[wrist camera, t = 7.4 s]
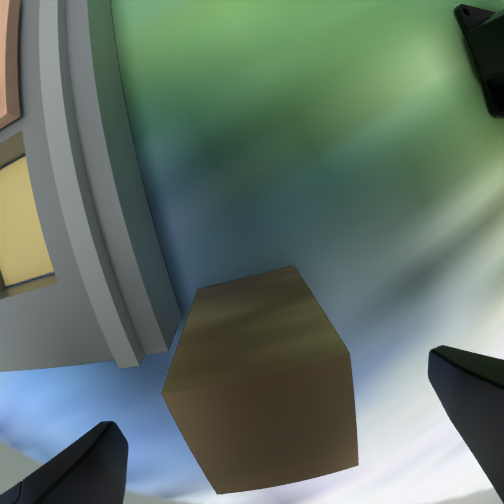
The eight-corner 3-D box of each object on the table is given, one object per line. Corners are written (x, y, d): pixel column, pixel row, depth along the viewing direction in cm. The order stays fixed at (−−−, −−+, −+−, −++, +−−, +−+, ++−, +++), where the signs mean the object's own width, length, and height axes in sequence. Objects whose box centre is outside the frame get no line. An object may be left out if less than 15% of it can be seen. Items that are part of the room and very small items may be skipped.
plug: (294, 265, 13) (349, 352, 6) (310, 349, 14) (358, 465, 7) (197, 288, 13) (161, 393, 6) (224, 369, 14) (216, 494, 7)
